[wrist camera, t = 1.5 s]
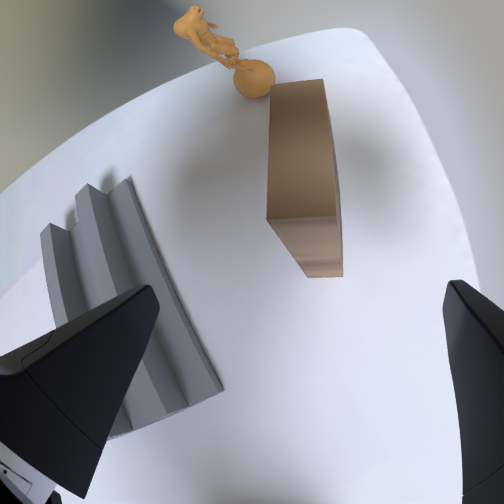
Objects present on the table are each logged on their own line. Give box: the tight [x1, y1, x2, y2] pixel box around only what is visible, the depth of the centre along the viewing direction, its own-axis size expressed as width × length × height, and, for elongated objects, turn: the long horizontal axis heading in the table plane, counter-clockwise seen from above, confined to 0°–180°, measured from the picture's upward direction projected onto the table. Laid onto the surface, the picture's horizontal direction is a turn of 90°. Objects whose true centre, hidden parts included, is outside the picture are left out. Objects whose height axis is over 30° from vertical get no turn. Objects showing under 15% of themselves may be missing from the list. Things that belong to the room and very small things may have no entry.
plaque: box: [266, 79, 343, 278], centre depth 16 cm, size 7×2×11 cm, turn 177°
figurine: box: [174, 6, 275, 98], centre depth 22 cm, size 8×6×12 cm
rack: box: [40, 179, 224, 441], centre depth 24 cm, size 22×14×4 cm, turn 30°
